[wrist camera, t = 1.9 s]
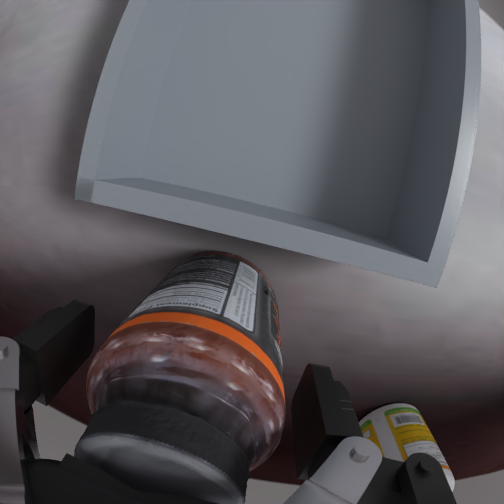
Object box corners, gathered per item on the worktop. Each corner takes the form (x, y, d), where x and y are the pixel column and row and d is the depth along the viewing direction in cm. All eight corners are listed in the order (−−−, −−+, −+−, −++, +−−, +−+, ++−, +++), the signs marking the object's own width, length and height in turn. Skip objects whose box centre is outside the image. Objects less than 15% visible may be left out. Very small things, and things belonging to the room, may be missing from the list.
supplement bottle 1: (269, 359, 17) (267, 552, 6) (164, 344, 17) (74, 508, 6) (286, 255, 15) (324, 437, 4) (166, 240, 15) (3, 362, 4)
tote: (433, -25, 10) (467, -62, 5) (390, 254, 15) (436, 287, 10) (222, -79, 10) (211, -128, 5) (129, 190, 15) (73, 198, 10)
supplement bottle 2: (361, 460, 19) (386, 562, 9) (337, 425, 18) (364, 548, 8) (424, 428, 18) (470, 523, 8) (410, 387, 17) (471, 499, 7)
